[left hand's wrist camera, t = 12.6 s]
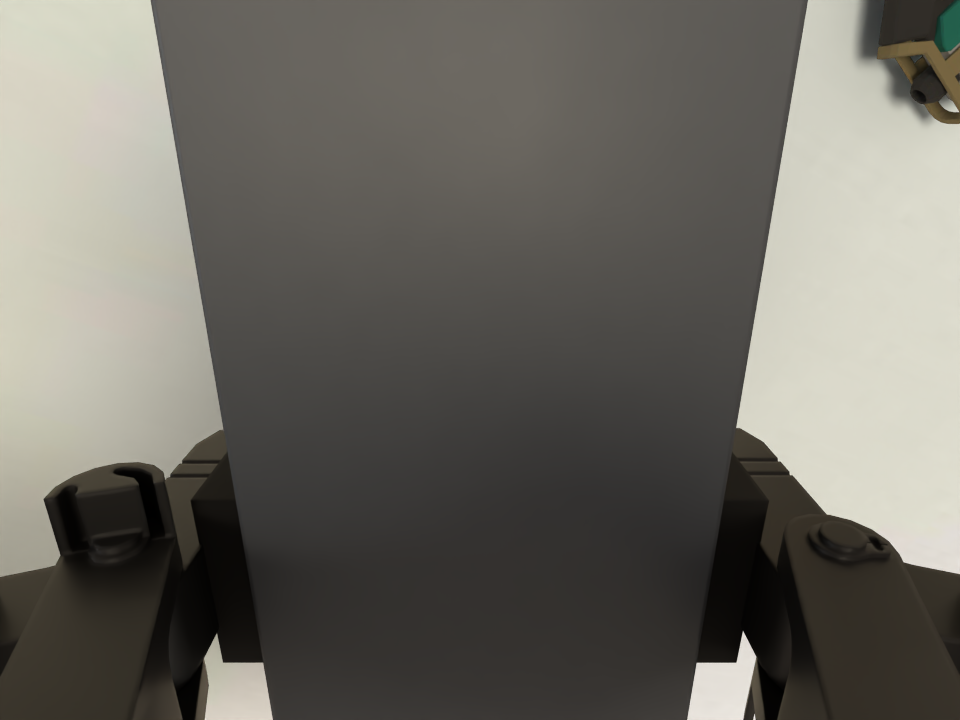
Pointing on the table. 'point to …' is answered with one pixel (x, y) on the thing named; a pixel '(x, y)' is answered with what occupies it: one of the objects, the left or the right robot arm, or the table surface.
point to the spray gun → (925, 50)
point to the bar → (479, 332)
